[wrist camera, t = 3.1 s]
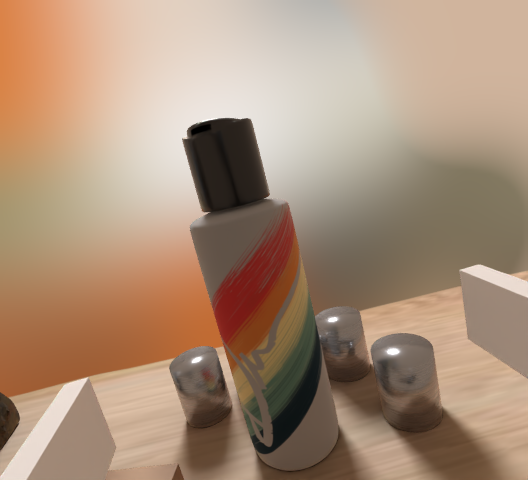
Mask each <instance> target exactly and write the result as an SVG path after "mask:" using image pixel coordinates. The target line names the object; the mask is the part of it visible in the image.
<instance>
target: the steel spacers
mask: <svg viewBox="0 0 528 480" xmlns="http://www.w3.org/2000/svg"><path fill="white" fill-rule="evenodd" d="M315 321H316V325H317V329H318V334H319V338H320V343H321V347H322V351H323V356H324V360H325V365H326V369H327V373H328V377H330V378H331V379H333V380H336V381H340V382H350V381H355V380H358V379H360V378H362V377H364V376H365V375H366V374H367V373H368V372H369V370H370V361H369V356H368V351H367V346H366V341H365V336H364V331H363V326H362V321H361V315H360V312H359V311H358V310H357V309H355V308H352V307H334V308H330V309H326V310H324V311H322V312H320V313H319V314H317V315H316V317H315ZM371 355H372V360H373V365H374V370H375V376H376V381H377V386H378V391H379V396H380V401H381V407H382V412H383V415H384V417H385V419H386V420H387V422H388V423H390V424H391V425H392V426H394V427H396V428H398V429H400V430H403V431H407V432H423V431H427V430H430V429H432V428H434V427H436V426H437V425H438V424H439V423H440V421H441V419H442V416H443V411H442V405H441V398H440V392H439V385H438V378H437V372H436V365H435V358H434V352H433V346H432V344H431V343H430V342H429V341H428V340H427V339H425V338H423V337H421V336H418V335H414V334H407V333H398V334H391V335H387V336H384V337H382V338H380V339H378V340H377V341H375V342H374V344H373V345H372V347H371ZM170 372H171V375H172V378H173V381H174V384H175V387H176V390H177V393H178V396H179V399H180V402H181V405H182V408H183V411H184V414H185V416H186V419H187V422H188V424H189V425H190V426H192V427H195V428H205V427H209V426H212V425H214V424H216V423H218V422H220V421H221V420H222V419H224V418H225V417H226V416H227V414H228V413H229V412H230V410H231V407H232V401H231V398H230V395H229V391H228V388H227V385H226V381H225V378H224V375H223V371H222V368H221V365H220V361H219V358H218V355H217V351H216V350H215V349H214V348H213V347H209V346H202V347H197V348H193V349H190V350H188V351H186V352H184V353H182V354H180V355H179V356H178V357H176V358H175V359H174V360H173V361H172V363H171V364H170Z"/></svg>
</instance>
